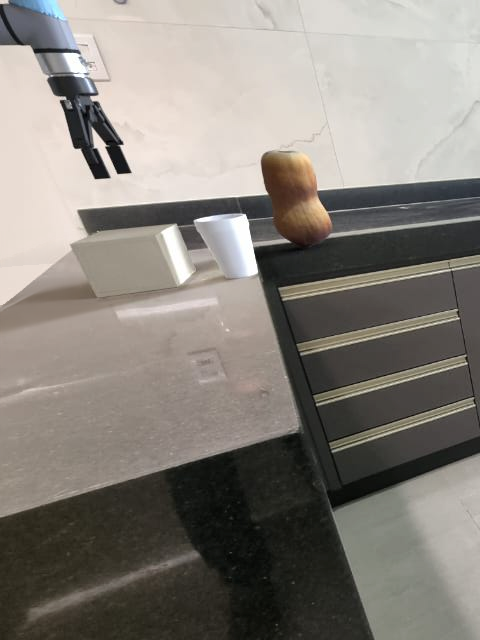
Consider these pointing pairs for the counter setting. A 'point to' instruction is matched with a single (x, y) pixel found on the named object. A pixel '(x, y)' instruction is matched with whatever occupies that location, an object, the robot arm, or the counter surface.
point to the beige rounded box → (134, 259)
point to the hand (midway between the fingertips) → (114, 176)
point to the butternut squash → (295, 198)
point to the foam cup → (229, 243)
